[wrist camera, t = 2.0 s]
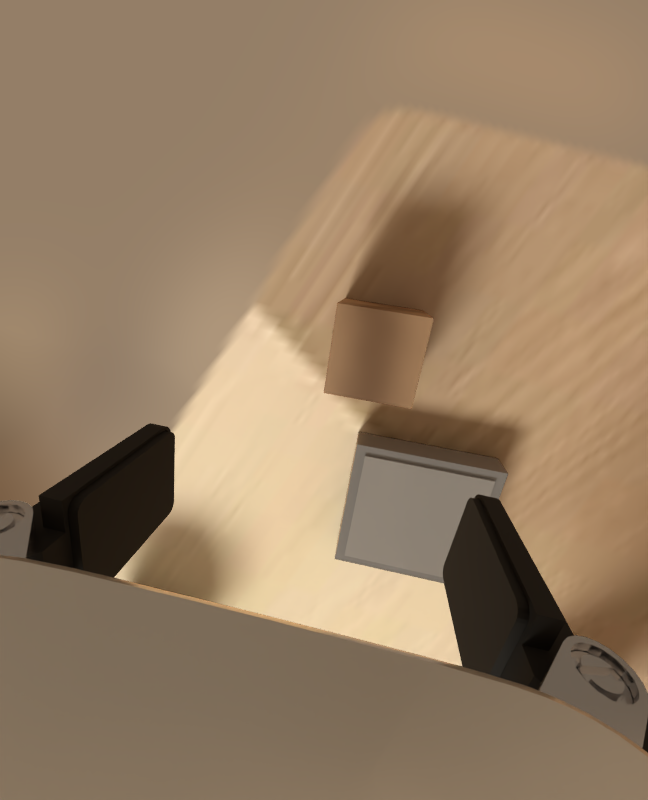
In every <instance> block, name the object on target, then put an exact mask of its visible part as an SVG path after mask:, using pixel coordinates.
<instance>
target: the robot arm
mask: <svg viewBox="0 0 648 800" xmlns="http://www.w3.org/2000/svg"><path fill="white" fill-rule="evenodd" d="M174 453H175V436H174V434H173V433H172V432H170V429H169V428H168V427H165V426H160V425H156V424H148V425H146V426H145V427H143V428H141V429H140V430H138V431H137V432H135V433H134V434H132V435H131V436H129V437H128V438H126V439H125V440H123V441H122V442H120V443H118V444H117V445H116V446H114V447H112V448H111V449H109V450H108V451H106V452H105V453H103V454H102V455H100V456H99V457H97V458H96V459H94V460H92V461H91V462H89V463H88V464H86V465H85V466H83V467H82V468H80V469H79V470H77V471H76V472H74V473H72V474H71V475H69V476H68V477H67V478H65V479H63V480H62V481H60V482H59V483H57V484H56V485H54V486H53V487H51V488H49V489H48V490H46V491H45V492H43V493H42V494H40V495H39V501H40V502H39V503H37V504H36V505H34V506H33V507H31V506H30V505H29V504H28V503H25V502H22V501H14V500H7V501H0V800H648V693H647V690H646V688H645V686H644V684H643V682H642V681H641V680H640V678H639V677H638V675H637V674H636V673H635V671H634V670H633V669H632V668H631V667H630V666H629V665H628V664H627V663H626V662H625V661H624V660H623V659H622V658H621V657H619V656H618V655H617V654H615V653H614V652H613V651H612V650H610V649H609V648H607V647H605V646H604V645H602V644H600V643H599V642H597V641H594V640H592V639H589V638H587V637H582V636H577V635H575V636H574V635H573V633H572V631H571V630H570V628H569V626H568V624H567V622H566V620H565V618H564V616H563V615H562V613H561V611H560V609H559V607H558V605H557V604H556V602H555V600H554V598H553V596H552V595H551V593H550V591H549V589H548V587H547V585H546V584H545V582H544V580H543V578H542V576H541V575H540V573H539V571H538V569H537V567H536V565H535V564H534V562H533V560H532V558H531V556H530V555H529V553H528V551H527V549H526V547H525V545H524V544H523V542H522V540H521V538H520V536H519V535H518V533H517V531H516V529H515V527H514V526H513V524H512V522H511V520H510V518H509V516H508V515H507V513H506V511H505V509H504V507H503V506H502V504H501V502H500V500H499V499H497V498H493V497H489V496H484V495H480V494H478V495H476V496H475V498H469V499H468V501H467V504H466V506H465V509H464V512H463V515H462V517H461V520H460V523H459V525H458V528H457V531H456V533H455V536H454V539H453V542H452V544H451V547H450V550H449V552H448V555H447V558H446V561H445V563H444V566H443V580H444V585H445V589H446V594H447V598H448V603H449V607H450V612H451V616H452V621H453V625H454V630H455V634H456V639H457V643H458V648H459V652H460V657H461V661H462V666H463V667H462V666H458V665H454V664H450V663H447V662H443V661H439V660H436V659H432V658H428V657H425V656H421V655H417V654H414V653H410V652H406V651H402V650H398V649H394V648H390V647H387V646H383V645H379V644H375V643H371V642H367V641H363V640H360V639H356V638H352V637H348V636H344V635H340V634H336V633H333V632H329V631H325V630H321V629H317V628H313V627H309V626H305V625H301V624H297V623H293V622H289V621H286V620H282V619H278V618H274V617H270V616H266V615H262V614H258V613H254V612H250V611H246V610H242V609H238V608H234V607H230V606H226V605H222V604H218V603H214V602H210V601H206V600H202V599H198V598H194V597H190V596H186V595H182V594H178V593H174V592H170V591H166V590H162V589H158V588H154V587H149V586H145V585H141V584H137V583H133V582H129V581H125V580H121V579H117V578H114V577H115V576H116V575H117V573H118V572H119V571H120V570H121V569H122V568H123V566H124V565H125V564H126V563H127V562H128V561H129V560H130V558H131V557H132V556H133V555H134V554H135V553H136V551H137V550H138V549H139V548H140V547H141V546H142V545H143V543H144V542H145V541H146V540H147V539H148V538H149V536H150V535H151V534H152V533H153V532H154V531H155V530H156V528H157V527H158V526H159V525H160V524H161V523H162V522H163V520H164V519H165V518H166V517H167V516H168V515H169V513H170V512H171V510H172V507H173V504H174Z"/></svg>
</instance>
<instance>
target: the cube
mask: <svg viewBox="0 0 648 800" xmlns="http://www.w3.org/2000/svg"><path fill="white" fill-rule="evenodd" d="M433 320H434V318H432V317H431V316H430V315H428V314H427V313H425V312H424V311H422V310H417V309H410V308H404V307H398V306H391V305H385V304H379V303H373V302H366V301H360V300H354V299H347V298H345V299H343V300H342V301H340V302H338V303H337V309H336V315H335V322H334V329H333V335H332V342H331V348H330V355H329V361H328V368H327V375H326V381H325V388H324V393H328V394H333V395H339V396H344V397H349V398H355V399H360V400H366V401H371V402H377V403H382V404H388V405H393V406H398V407H404V408H409V409H412V405H413V401H414V397H415V393H416V389H417V385H418V381H419V377H420V373H421V369H422V365H423V361H424V357H425V353H426V348H427V344H428V340H429V336H430V332H431V328H432V324H433Z"/></svg>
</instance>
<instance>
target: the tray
mask: <svg viewBox="0 0 648 800" xmlns="http://www.w3.org/2000/svg"><path fill="white" fill-rule="evenodd" d="M507 476H508V473H507V471H506V470H505V468H504V467H503V465H502V464H501V462H500V461H499V459H498V458H492V457H487V456H482V455H477V454H471V453H466V452H461V451H456V450H451V449H445V448H440V447H435V446H430V445H424V444H419V443H414V442H409V441H404V440H398V439H393V438H388V437H383V436H377V435H372V434H367V433H362V432H359V433H358V438H357V443H356V448H355V453H354V458H353V464H352V469H351V474H350V479H349V484H348V489H347V494H346V500H345V505H344V510H343V515H342V520H341V525H340V530H339V536H338V541H337V547H336V554H335V559H338V560H342V561H347V562H351V563H356V564H360V565H365V566H369V567H374V568H378V569H382V570H387V571H391V572H396V573H400V574H405V575H409V576H414V577H418V578H422V579H427V580H431V581H436V582H440V583H444V580H443V566H444V563H445V561H446V558H447V555H448V552H449V550H450V547H451V544H452V542H453V539H454V536H455V533H456V531H457V528H458V525H459V523H460V520H461V517H462V515H463V512H464V509H465V506H466V504H467V501H468V499H469V498H475V496H476V495H478V494H480V495H484V496H489V497H493V498H497V499H499V497H500V495H501V492H502V489H503V486H504V484H505V481H506V478H507Z"/></svg>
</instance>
